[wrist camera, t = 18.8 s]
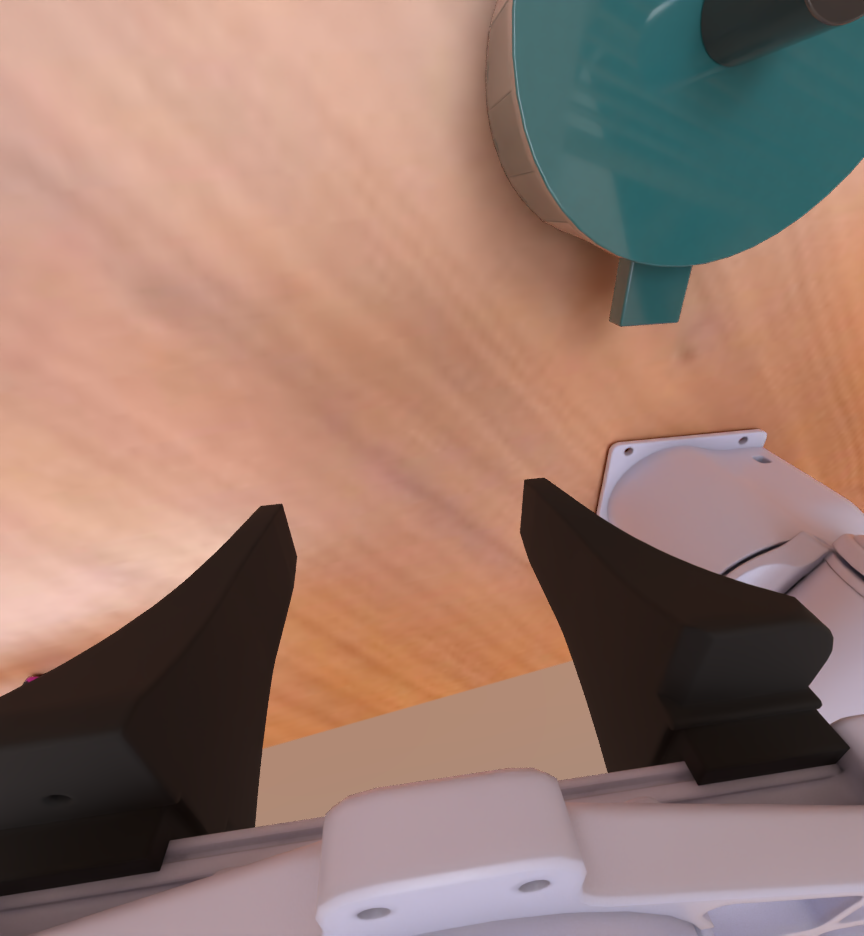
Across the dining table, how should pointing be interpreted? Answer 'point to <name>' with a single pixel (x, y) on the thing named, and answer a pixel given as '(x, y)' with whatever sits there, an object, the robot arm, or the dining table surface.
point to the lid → (687, 117)
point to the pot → (637, 285)
